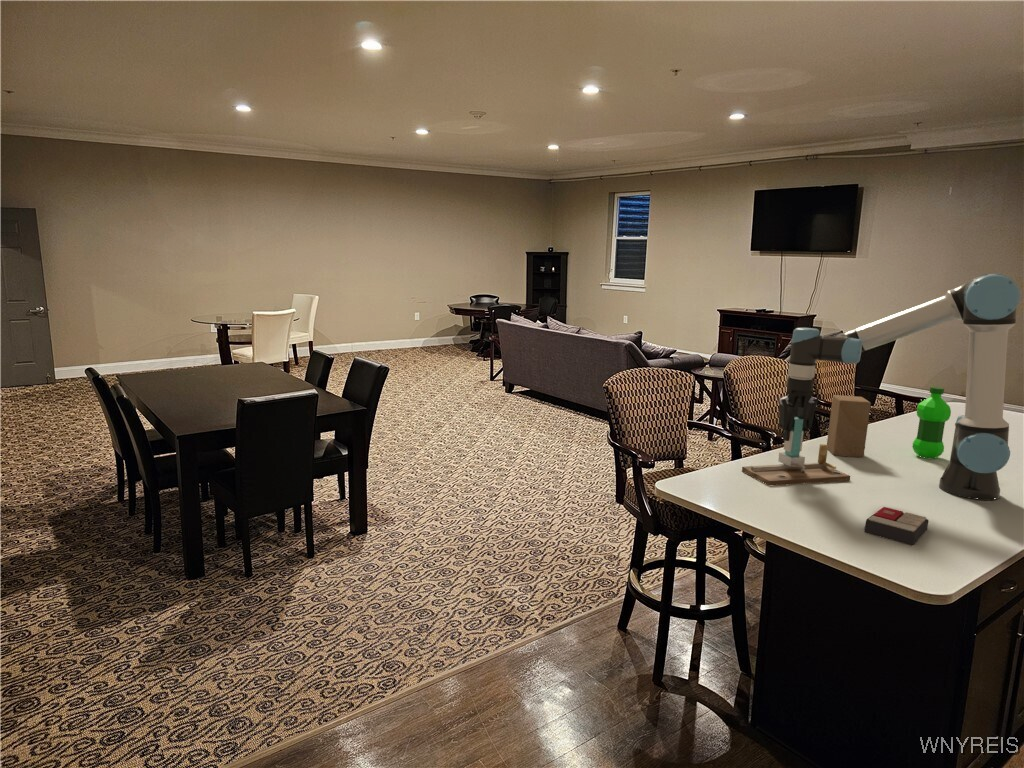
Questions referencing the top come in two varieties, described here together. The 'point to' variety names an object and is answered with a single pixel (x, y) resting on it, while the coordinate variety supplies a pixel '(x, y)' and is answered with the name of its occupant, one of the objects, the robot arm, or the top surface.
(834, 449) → the wooden block
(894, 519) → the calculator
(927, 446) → the plastic bottle
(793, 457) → the sliding lever
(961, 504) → the top surface
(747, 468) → the hole plate
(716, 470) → the top surface
